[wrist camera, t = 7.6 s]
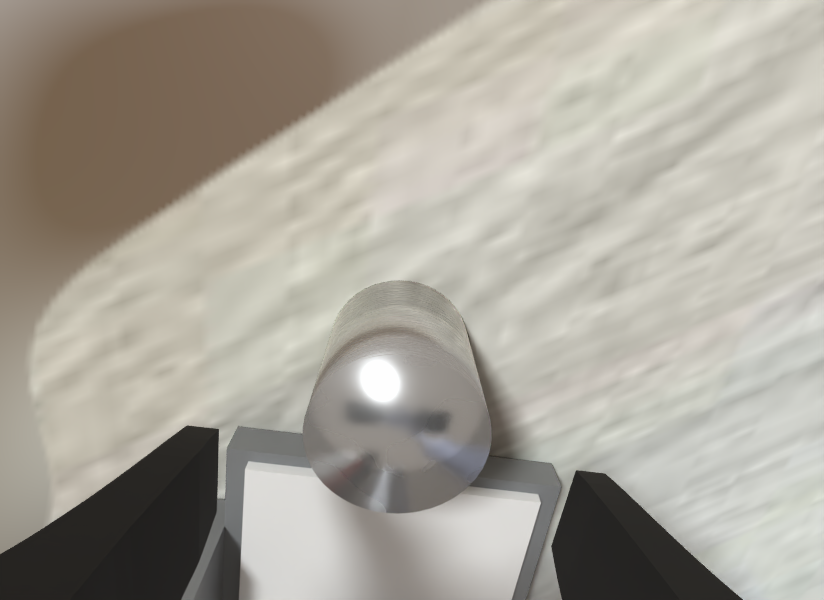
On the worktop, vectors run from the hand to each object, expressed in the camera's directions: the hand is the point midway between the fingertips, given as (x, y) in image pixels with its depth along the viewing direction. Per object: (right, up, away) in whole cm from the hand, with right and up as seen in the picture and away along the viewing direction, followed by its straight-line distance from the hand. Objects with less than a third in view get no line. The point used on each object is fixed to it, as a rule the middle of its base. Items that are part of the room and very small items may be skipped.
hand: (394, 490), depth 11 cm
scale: (-3, -7, +10) cm, 12 cm away
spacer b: (0, +2, +6) cm, 7 cm away
